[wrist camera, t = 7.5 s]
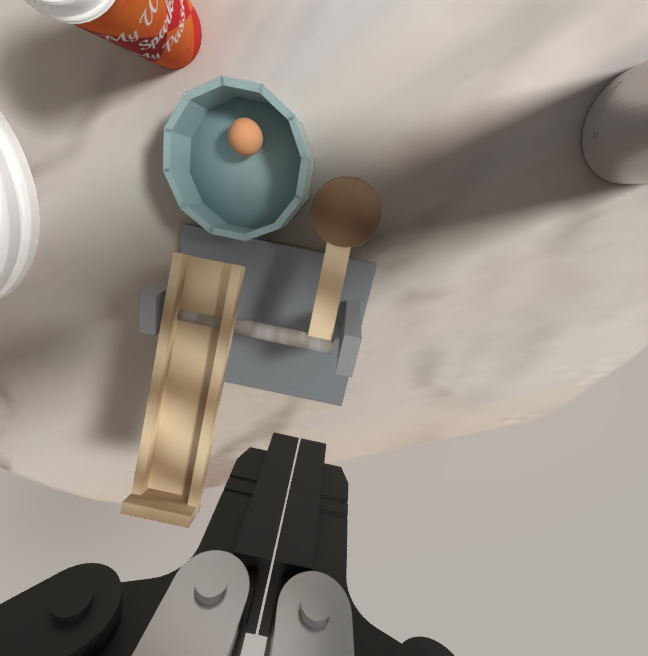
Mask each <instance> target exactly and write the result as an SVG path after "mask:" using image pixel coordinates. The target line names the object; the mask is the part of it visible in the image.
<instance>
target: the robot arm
mask: <svg viewBox="0 0 648 656" xmlns="http://www.w3.org/2000/svg"><path fill="white" fill-rule="evenodd" d="M582 146H583V153H584V156H585V159H586V162H587V164H588V165H589V167H590V168H591V170H592V171H593V172H594V173H595V174H597V175H598V176H599V177H600V178H602V179H604V180H606V181H609V182H612V183H618V184H648V61H646V62H644V63H642V64H640V65H637V66H635V67H633V68H631V69H629V70H627V71H625V72H624V73H622V74H621V75H619V76H618V77H616V78H615V79H614V80H612V81H611V82H610V83H609V84H608V85H607V86H606V87H605V88H604V89H603V90H602V92H601V93H600V94H599V96H598V97H597V99H596V100H595V101H594V103H593V105H592V107H591V109H590V111H589V113H588V115H587V118H586V121H585V124H584V127H583V135H582ZM298 439H299V438H297V437H292V436H288V435H283V434H279V433H273V436H272V439H271V442H270V445H269V448H268V451H265V450H261V449H256V448H252V447H250V448H249V449H248V450H247V451H246V452H244V453H243V454H242V455H241V456H240V457H239V458H238V459H237V460H236V463H235V465H234V467H233V469H232V472H231V474H230V477H229V479H228V481H227V483H226V486H225V488H224V491H223V493H222V495H221V497H220V500H219V502H218V504H217V507H216V509H215V511H214V513H213V516H212V518H211V520H210V523H209V525H208V527H207V529H206V532H205V534H204V536H203V538H202V541H201V543H200V545H199V547H198V549H197V551H196V552H195V554H194V555H193V557H191V558H190V559H189V560H188V561H187V562H186V563H185V564H184V565H183V566H182V567H180V568H178V569H177V570H176V571H173V572H171V573H169V574H167V575H164V576H161V577H157V578H152V579H144V580H136V581H128V582H120V579H119V577H118V575H117V574H116V572H115V571H114V570H113V569H111V568H110V567H108V566H106V565H102V564H98V563H85V564H80V565H76V566H73V567H70V568H68V569H66V570H63V571H61V572H59V573H58V574H56V575H54V576H52V577H50V578H49V579H46V580H44V581H43V582H41V583H39V584H37V585H35V586H33V587H31V588H30V589H28V590H26V591H24V592H22V593H20V594H18V595H17V596H15V597H13V598H11V599H9V600H7V601H5V602H3V603H2V604H0V656H240V654H241V650H242V646H243V642H244V638H245V634H246V632H247V633H251V634H255V633H256V628H257V624H258V619H259V615H260V610H261V606H262V602H263V597H264V593H265V588H266V584H267V579H268V575H269V570H270V566H271V561H272V557H273V552H274V547H275V543H276V538H277V534H278V530H279V525H280V521H281V516H282V512H283V507H284V503H285V498H286V493H287V489H288V485H289V480H290V476H291V471H292V467H293V462H294V457H295V453H296V448H297V444H298ZM325 451H326V444H324V443H320V442H315V441H311V440H306V439H302V438H301V441H300V445H299V450H298V454H297V459H296V463H295V468H294V472H293V477H292V481H291V486H290V490H289V495H288V500H287V504H286V509H285V513H284V519H283V523H282V527H281V532H280V537H279V541H278V547H277V551H276V555H275V560H274V564H273V569H272V574H271V578H270V583H269V588H268V593H267V597H266V602H265V606H264V611H263V616H262V621H261V625H260V630H259V635H262V636H266V637H268V638H267V643H266V648H265V653H264V656H454V655H453V654H452V653H451V652H450V651H449V650H448V649H447V648H446V647H444V646H443V645H442V644H440V643H438V642H437V641H435V640H432V639H430V638H426V637H413V638H410V639H408V640H406V641H405V642H403V643H402V644H401V643H400V642H398V641H397V640H395V639H393V638H392V637H390V636H389V635H387V634H385V633H384V632H382V631H381V630H379V629H377V628H376V627H375V626H373V625H372V624H370V623H369V622H368V621H367V620H366V619H365V618H363V616H362V615H361V614H360V613H359V611H358V610H357V608H356V607H355V605H354V604H353V602H352V599H351V597H350V595H349V592H348V588H347V582H346V565H347V515H348V504H347V502H348V482H347V479H346V477H345V475H344V473H343V470H342V468H341V467H338V466H334V465H329V464H325V463H324V460H325Z"/></svg>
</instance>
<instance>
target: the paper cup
mask: <svg viewBox="0 0 648 656" xmlns="http://www.w3.org/2000/svg"><path fill="white" fill-rule="evenodd" d="M25 1H26V2H27V3H28V4H29V5H31V6H32V7H33V8H35V9H36V10H37V11H38V12H40V13H42V14H43V15H45V16H47V17H49V18H50V19H53V20H56V21H59V22H62V23H68V24H74V25H76V26H78V27H80V28H82V29H84V30H86V31H88V32H90V33H93V34H95V35H97V36H99V37H101V38H103V39H106V40H108V41H110V42H112V43H114V44H116V45H119V46H121V47H123V48H125V49H127V50H129V51H131V52H133V53H135V54H137V55H139V56H141V57H143V58H145V59H147V60H150V61H152V62H154V63H156V64H158V65H161V66H163V67H166V68H172V69H178V68H182V67H185V66H186V65H188V64H189V63H191V62H192V61H193V59H194V58H195V57H196V55H197V53H198V51H199V48H200V45H201V37H202V33H201V25H200V21H199V18H198V15H197V13H196V11H195V9H194V7H193V6H192V4H191V2H190V1H189V0H25Z"/></svg>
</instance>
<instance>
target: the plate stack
mask: <svg viewBox="0 0 648 656" xmlns="http://www.w3.org/2000/svg"><path fill="white" fill-rule="evenodd" d="M39 226H40V220H39V206H38V199H37V194H36V189H35V185H34V181H33V177H32V174H31V171H30V168H29V165H28V163H27V160H26V157H25V155H24V153H23V150H22V148H21V146H20V144H19V142H18V140H17V138H16V136H15V134H14V132H13V131H12V129H11V127H10V126H9V124H8V122H7V121H6V119H5V118H4V116H3V114H2V113H1V112H0V300H1V299H2V298H4V297H6V296H7V295H8V294H10V293H11V292H12V291H13V290H14V289H15V288H16V287H17V286H18V285H19V284H20V283H21V282H22V280H23V279H24V278H25V276H26V275H27V273H28V271H29V269H30V267H31V265H32V263H33V260H34V257H35V254H36V250H37V245H38V239H39Z"/></svg>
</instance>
